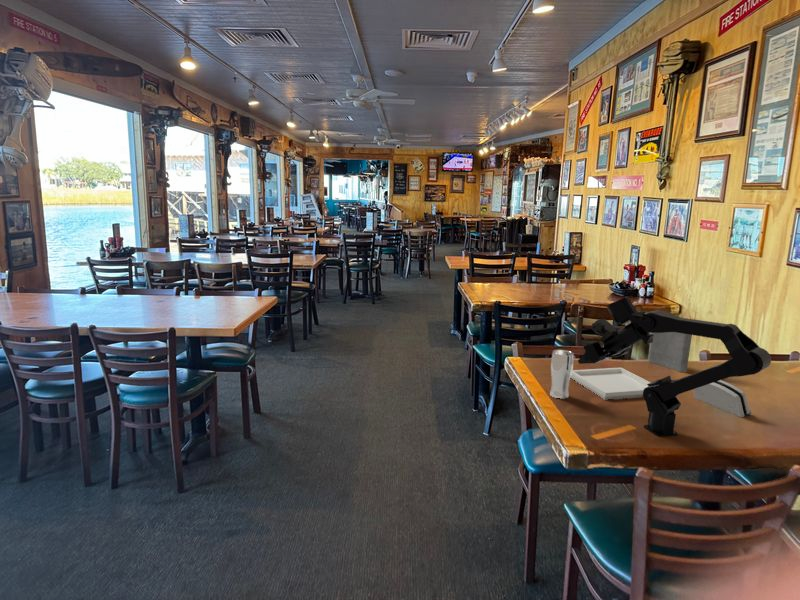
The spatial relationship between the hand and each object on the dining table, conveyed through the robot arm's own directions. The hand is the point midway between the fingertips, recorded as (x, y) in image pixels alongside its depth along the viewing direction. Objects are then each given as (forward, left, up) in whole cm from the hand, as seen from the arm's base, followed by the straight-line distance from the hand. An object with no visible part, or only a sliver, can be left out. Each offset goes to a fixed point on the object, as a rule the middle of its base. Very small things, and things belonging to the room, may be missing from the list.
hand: (587, 359), depth 160 cm
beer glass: (+7, +5, -15) cm, 17 cm away
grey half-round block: (-10, -42, -15) cm, 46 cm away
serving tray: (+12, -19, -14) cm, 27 cm away
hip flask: (+28, -55, -15) cm, 64 cm away
